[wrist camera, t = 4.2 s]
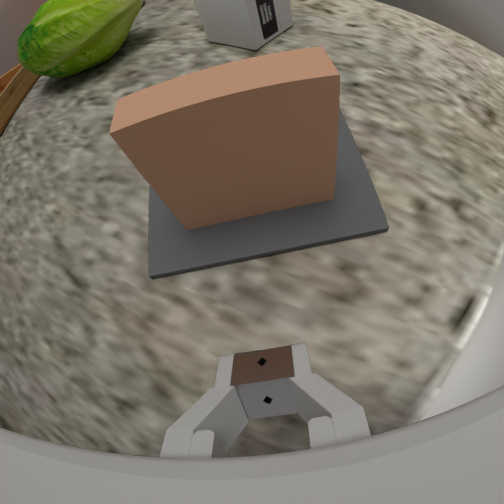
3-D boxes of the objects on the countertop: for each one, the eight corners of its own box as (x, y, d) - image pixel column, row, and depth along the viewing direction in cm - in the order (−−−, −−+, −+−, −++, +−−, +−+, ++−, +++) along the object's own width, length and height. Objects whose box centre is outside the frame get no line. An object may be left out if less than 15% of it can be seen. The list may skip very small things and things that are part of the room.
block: (187, 230, 21) (109, 133, 12) (185, 198, 22) (118, 97, 13) (333, 199, 20) (339, 74, 11) (323, 167, 21) (320, 44, 12)
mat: (152, 278, 21) (148, 276, 20) (159, 95, 29) (157, 92, 28) (387, 230, 19) (388, 227, 18) (310, 59, 27) (310, 55, 26)
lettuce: (162, 9, 38) (156, 58, 34) (55, 59, 41) (33, 117, 37) (131, -54, 24) (111, -22, 20) (16, 14, 27) (-21, 68, 23)
